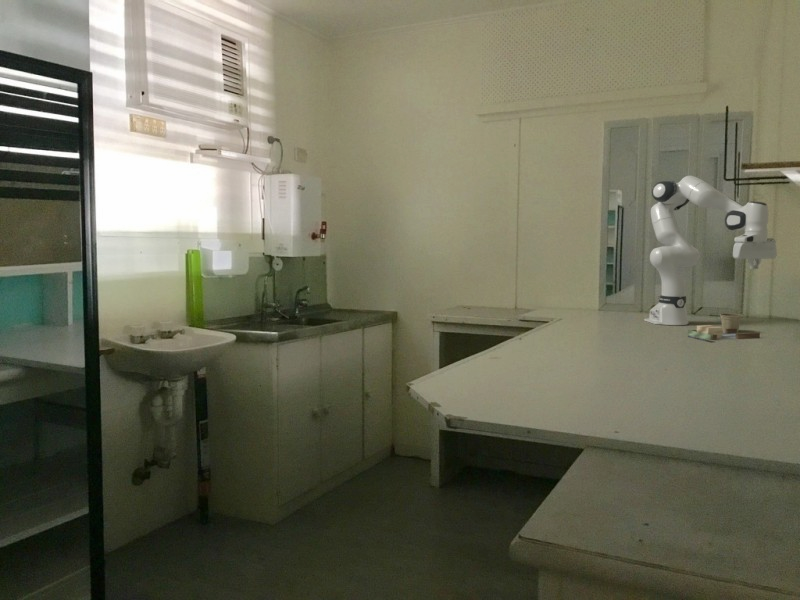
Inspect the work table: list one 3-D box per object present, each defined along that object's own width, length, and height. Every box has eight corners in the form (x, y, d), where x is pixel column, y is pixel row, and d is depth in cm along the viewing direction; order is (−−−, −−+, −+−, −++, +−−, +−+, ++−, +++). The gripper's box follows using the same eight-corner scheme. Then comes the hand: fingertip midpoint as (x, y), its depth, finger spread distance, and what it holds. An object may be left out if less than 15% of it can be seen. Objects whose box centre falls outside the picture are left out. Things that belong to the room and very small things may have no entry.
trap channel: (687, 337, 271) (688, 330, 271) (734, 335, 276) (735, 328, 276) (710, 342, 258) (710, 335, 257) (759, 340, 263) (759, 333, 262)
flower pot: (746, 335, 276) (747, 316, 275) (724, 335, 276) (725, 316, 275) (735, 332, 285) (736, 313, 284) (714, 332, 285) (715, 313, 284)
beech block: (696, 336, 268) (696, 325, 267) (710, 335, 269) (710, 325, 269) (708, 338, 261) (708, 328, 260) (722, 337, 262) (722, 327, 262)
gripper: (769, 238, 281) (768, 268, 283) (731, 238, 277) (729, 269, 278) (781, 238, 275) (779, 269, 277) (741, 238, 271) (740, 269, 272)
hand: (754, 269), depth 277 cm, fingers closed
